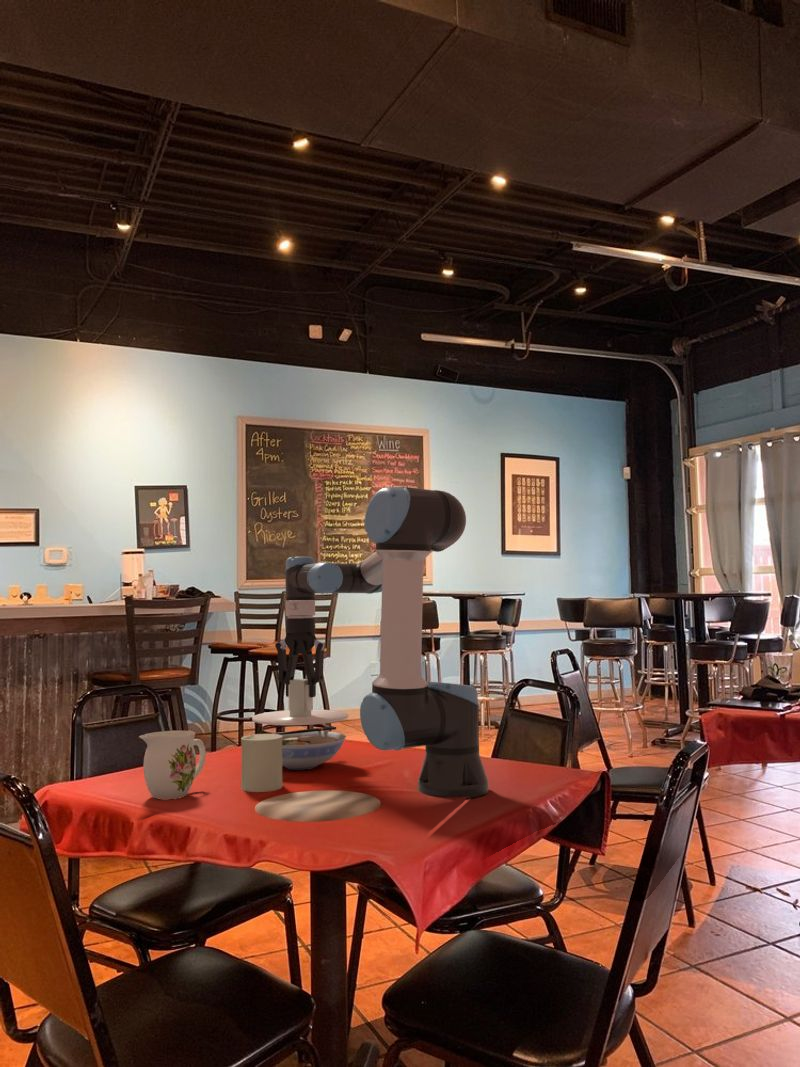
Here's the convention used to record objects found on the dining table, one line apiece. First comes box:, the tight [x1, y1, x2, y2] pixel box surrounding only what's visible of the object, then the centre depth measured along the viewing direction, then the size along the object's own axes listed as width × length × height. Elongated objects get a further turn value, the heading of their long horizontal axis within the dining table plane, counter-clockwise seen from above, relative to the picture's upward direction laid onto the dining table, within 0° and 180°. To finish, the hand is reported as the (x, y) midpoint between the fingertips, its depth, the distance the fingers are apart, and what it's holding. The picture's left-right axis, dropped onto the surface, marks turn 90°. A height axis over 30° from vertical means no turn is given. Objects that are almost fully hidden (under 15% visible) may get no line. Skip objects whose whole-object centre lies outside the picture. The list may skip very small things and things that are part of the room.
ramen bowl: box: [272, 725, 347, 771], centre depth 202 cm, size 25×23×8 cm
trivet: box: [254, 790, 382, 823], centre depth 161 cm, size 25×25×1 cm
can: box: [240, 733, 283, 793], centre depth 178 cm, size 9×9×12 cm
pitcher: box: [138, 730, 207, 800], centre depth 174 cm, size 11×18×14 cm, turn 148°
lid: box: [252, 678, 349, 726], centre depth 203 cm, size 24×24×10 cm
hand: (300, 710), depth 203 cm, fingers closed on lid, 4 cm apart
